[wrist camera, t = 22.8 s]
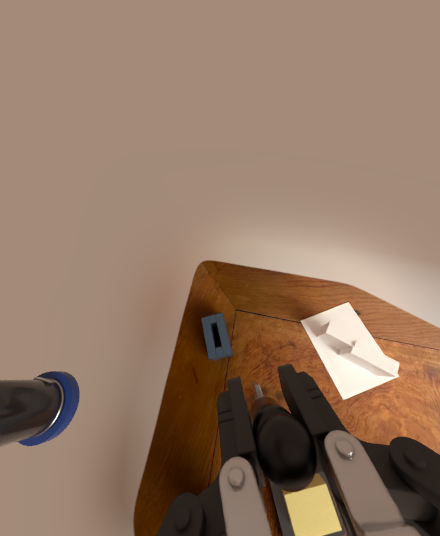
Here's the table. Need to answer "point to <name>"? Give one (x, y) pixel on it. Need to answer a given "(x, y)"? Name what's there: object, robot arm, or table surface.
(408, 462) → the robot arm
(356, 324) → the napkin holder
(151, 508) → the table surface
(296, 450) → the knife
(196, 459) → the table surface
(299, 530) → the butter block
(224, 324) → the knife stand
